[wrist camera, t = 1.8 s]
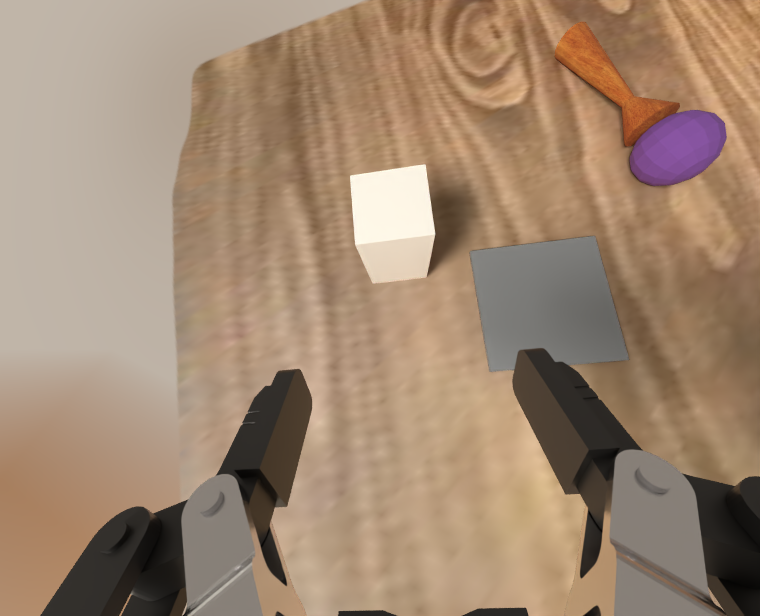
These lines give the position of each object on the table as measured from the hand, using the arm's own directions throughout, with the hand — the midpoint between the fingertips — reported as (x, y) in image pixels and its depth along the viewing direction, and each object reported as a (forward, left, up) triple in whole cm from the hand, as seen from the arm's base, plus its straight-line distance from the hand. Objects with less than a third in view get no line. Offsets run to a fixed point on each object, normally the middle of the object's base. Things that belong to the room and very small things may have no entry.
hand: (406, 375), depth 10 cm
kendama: (-32, +13, -17) cm, 38 cm away
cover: (-11, -4, -16) cm, 20 cm away
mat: (-10, +11, -16) cm, 22 cm away
